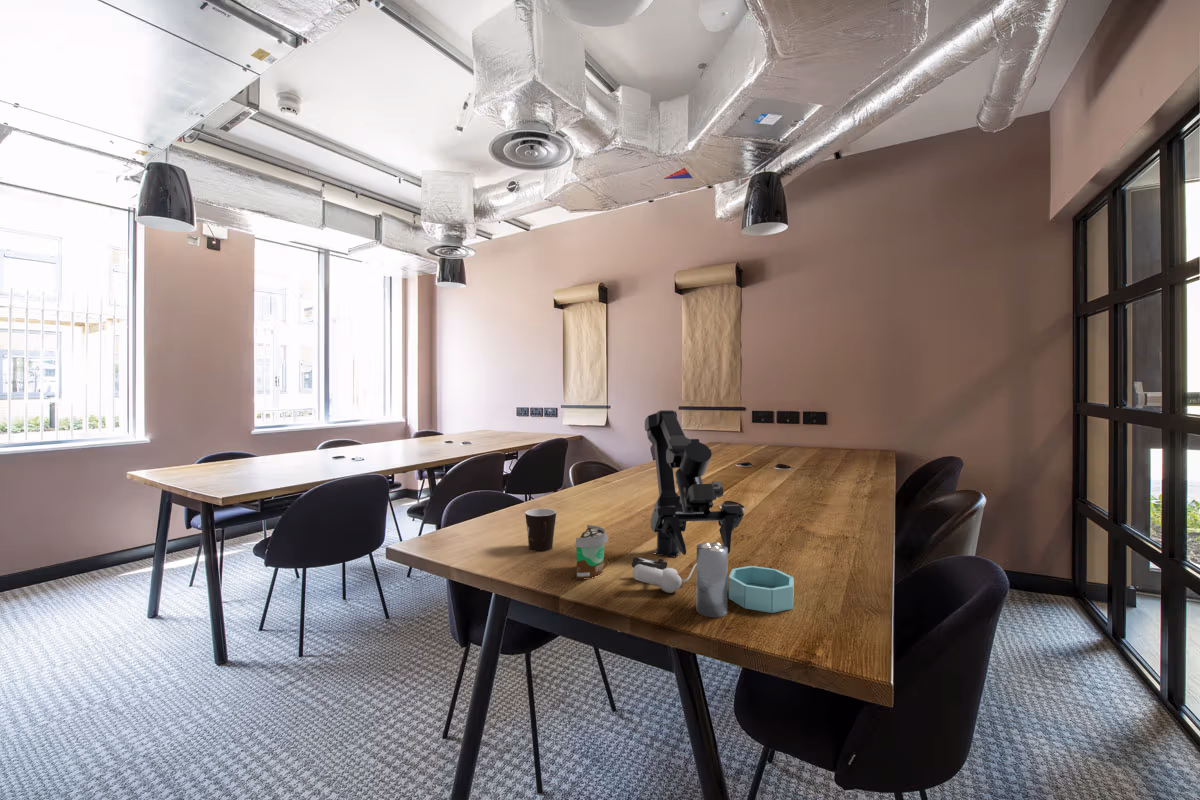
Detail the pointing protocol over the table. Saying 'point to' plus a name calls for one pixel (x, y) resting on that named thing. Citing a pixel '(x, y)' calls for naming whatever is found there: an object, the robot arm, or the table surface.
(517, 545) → the table surface
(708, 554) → the steel cylinder with balls
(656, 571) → the clip-on lamp
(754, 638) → the table surface
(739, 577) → the bowl
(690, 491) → the robot arm
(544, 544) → the coffee mug
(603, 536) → the food container
